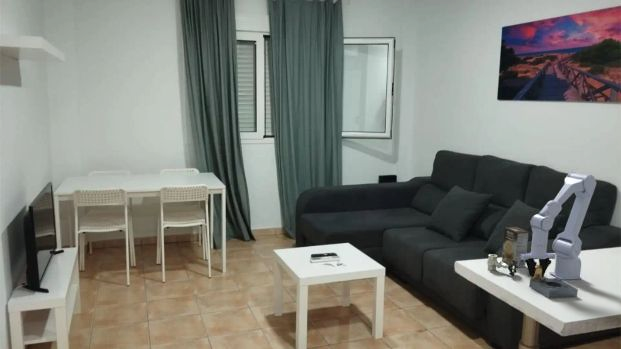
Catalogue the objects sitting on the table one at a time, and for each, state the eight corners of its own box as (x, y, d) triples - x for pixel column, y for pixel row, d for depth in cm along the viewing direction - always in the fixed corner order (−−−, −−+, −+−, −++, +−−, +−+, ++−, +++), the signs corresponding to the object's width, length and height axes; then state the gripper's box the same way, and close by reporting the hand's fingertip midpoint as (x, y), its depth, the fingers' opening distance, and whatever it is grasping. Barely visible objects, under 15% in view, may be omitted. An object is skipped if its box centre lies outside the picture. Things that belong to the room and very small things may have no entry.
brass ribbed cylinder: (537, 278, 211) (538, 264, 210) (543, 282, 207) (544, 267, 206) (528, 279, 210) (529, 265, 209) (534, 282, 206) (535, 268, 205)
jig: (556, 285, 203) (557, 278, 203) (577, 296, 192) (577, 289, 191) (529, 286, 201) (530, 279, 201) (548, 298, 189) (549, 290, 189)
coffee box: (500, 261, 233) (503, 227, 230) (512, 260, 234) (515, 226, 232) (514, 267, 224) (517, 232, 221) (526, 266, 226) (529, 231, 223)
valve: (483, 270, 220) (510, 277, 211) (484, 255, 219) (511, 262, 210) (490, 267, 224) (517, 274, 216) (492, 252, 223) (518, 259, 215)
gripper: (529, 247, 201) (526, 280, 203) (561, 246, 203) (558, 278, 205) (518, 242, 207) (516, 274, 210) (550, 241, 210) (547, 272, 212)
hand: (536, 276), depth 208 cm, fingers closed on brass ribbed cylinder, 4 cm apart
